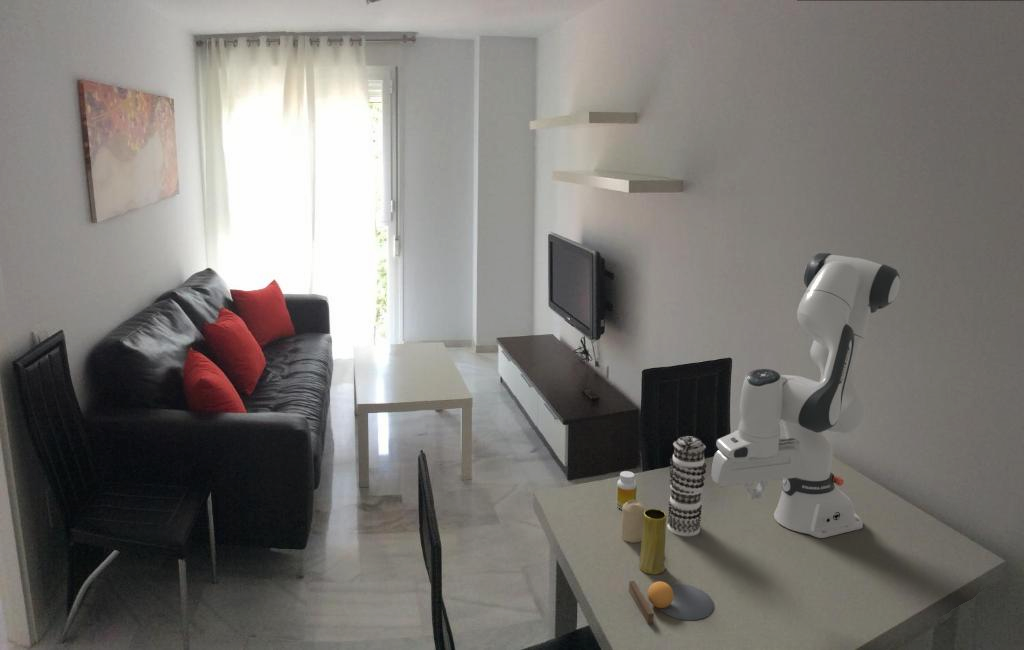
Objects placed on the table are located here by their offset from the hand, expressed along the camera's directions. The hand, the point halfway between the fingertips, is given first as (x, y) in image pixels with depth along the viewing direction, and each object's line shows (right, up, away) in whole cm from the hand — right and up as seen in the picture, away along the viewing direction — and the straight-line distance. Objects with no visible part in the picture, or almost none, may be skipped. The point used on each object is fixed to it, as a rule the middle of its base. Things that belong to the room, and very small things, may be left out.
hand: (754, 497), depth 170 cm
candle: (-24, -16, +22) cm, 36 cm away
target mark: (-17, -22, -4) cm, 28 cm away
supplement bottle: (-23, -11, +38) cm, 46 cm away
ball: (-22, -20, -6) cm, 31 cm away
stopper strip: (-27, -23, -6) cm, 35 cm away
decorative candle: (-10, -14, +27) cm, 32 cm away
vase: (-22, -19, +9) cm, 30 cm away
